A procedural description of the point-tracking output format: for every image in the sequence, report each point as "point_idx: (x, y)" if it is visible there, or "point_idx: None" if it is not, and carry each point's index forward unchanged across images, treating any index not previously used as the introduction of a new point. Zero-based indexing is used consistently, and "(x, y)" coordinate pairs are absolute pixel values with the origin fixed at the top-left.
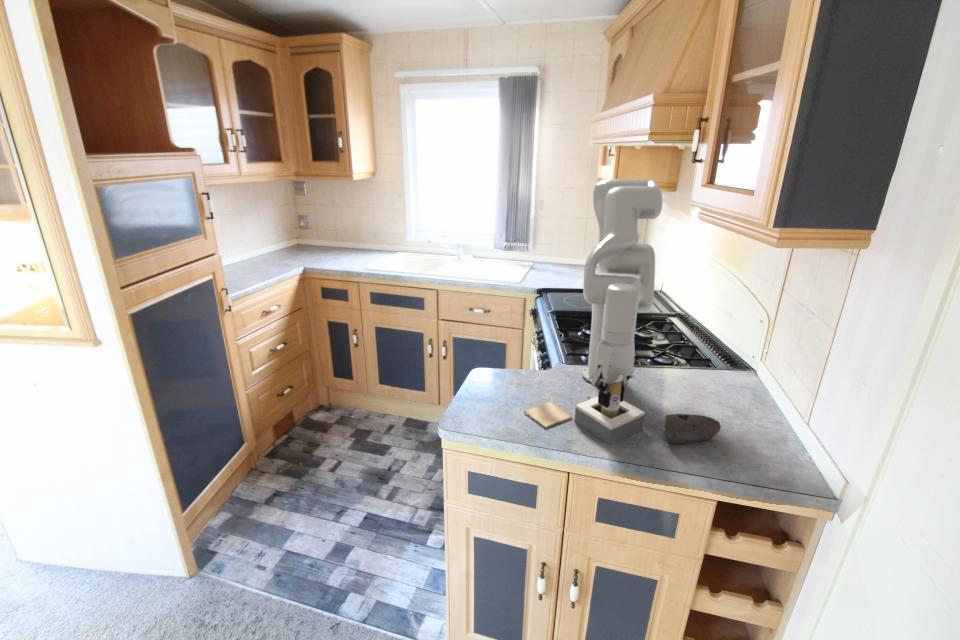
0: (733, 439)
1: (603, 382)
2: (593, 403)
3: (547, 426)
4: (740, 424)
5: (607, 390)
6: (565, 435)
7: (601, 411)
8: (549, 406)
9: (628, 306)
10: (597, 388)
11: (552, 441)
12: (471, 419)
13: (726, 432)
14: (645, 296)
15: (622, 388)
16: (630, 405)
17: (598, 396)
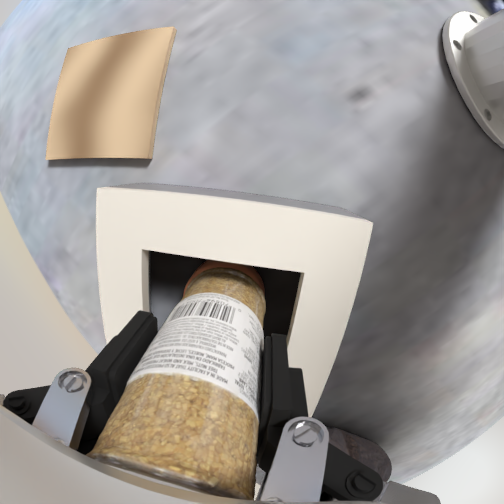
0: (390, 457)
1: (80, 435)
2: (180, 243)
3: (51, 159)
4: (446, 434)
5: (96, 438)
6: (69, 226)
7: (183, 297)
8: (142, 52)
9: None
10: (45, 387)
11: (34, 223)
12: (3, 46)
13: (409, 444)
14: None
15: (258, 456)
16: (321, 374)
17: (122, 330)
